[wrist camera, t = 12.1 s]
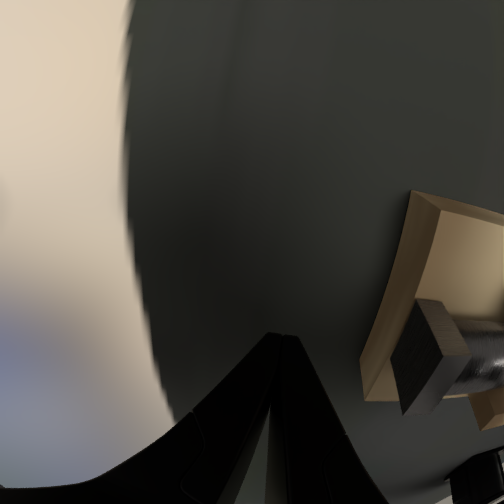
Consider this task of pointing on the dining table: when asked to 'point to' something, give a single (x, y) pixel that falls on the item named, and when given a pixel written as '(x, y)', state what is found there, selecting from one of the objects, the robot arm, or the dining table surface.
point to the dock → (440, 288)
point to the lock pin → (445, 357)
